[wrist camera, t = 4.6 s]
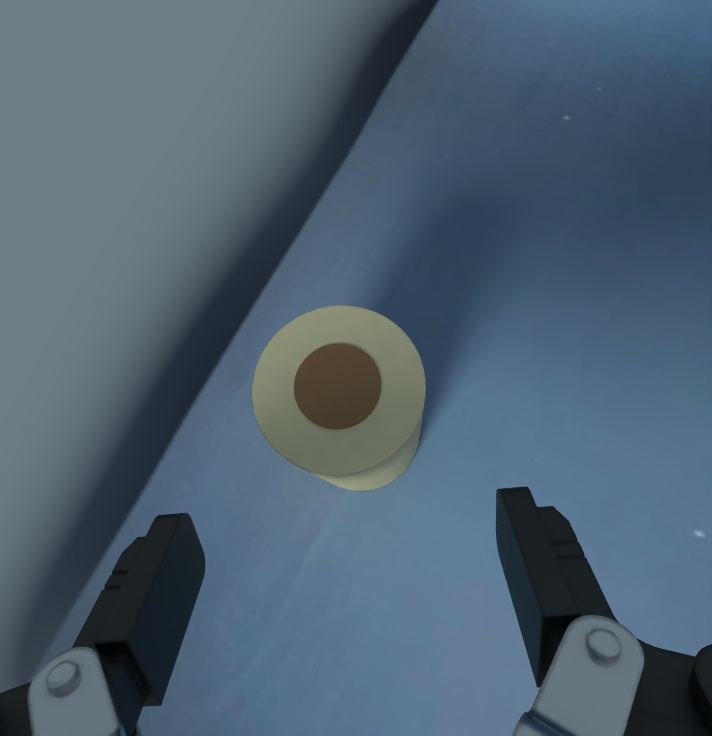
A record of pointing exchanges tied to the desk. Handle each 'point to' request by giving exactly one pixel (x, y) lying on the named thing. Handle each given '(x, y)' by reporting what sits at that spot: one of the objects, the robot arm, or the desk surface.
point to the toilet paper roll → (342, 396)
